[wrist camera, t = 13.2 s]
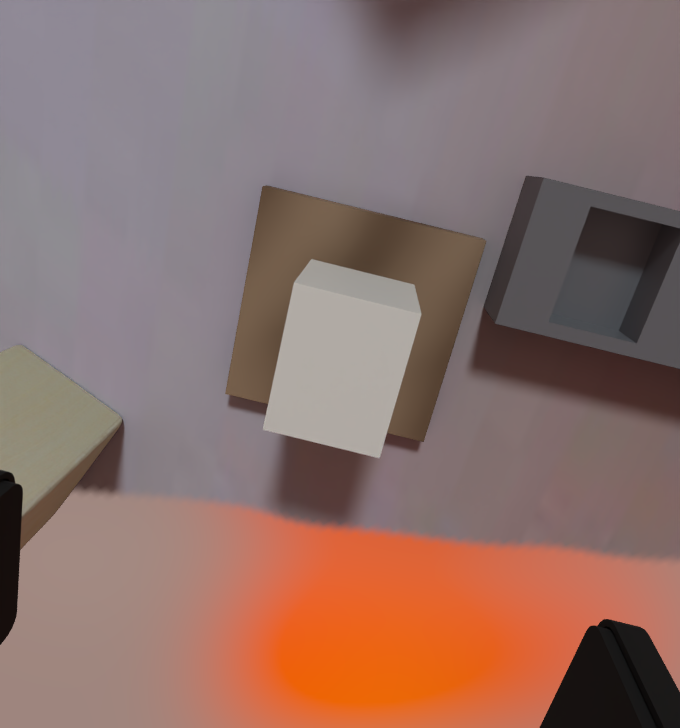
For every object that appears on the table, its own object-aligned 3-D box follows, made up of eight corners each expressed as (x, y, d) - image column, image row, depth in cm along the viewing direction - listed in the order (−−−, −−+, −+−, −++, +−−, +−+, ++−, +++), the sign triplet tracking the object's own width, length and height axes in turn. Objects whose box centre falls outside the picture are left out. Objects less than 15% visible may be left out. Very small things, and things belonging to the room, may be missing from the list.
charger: (412, 275, 26) (421, 314, 20) (380, 388, 28) (379, 458, 22) (316, 251, 26) (293, 282, 20) (291, 366, 28) (262, 429, 22)
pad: (482, 238, 27) (486, 241, 26) (422, 433, 30) (423, 441, 29) (266, 185, 26) (262, 186, 26) (230, 386, 30) (225, 393, 29)
